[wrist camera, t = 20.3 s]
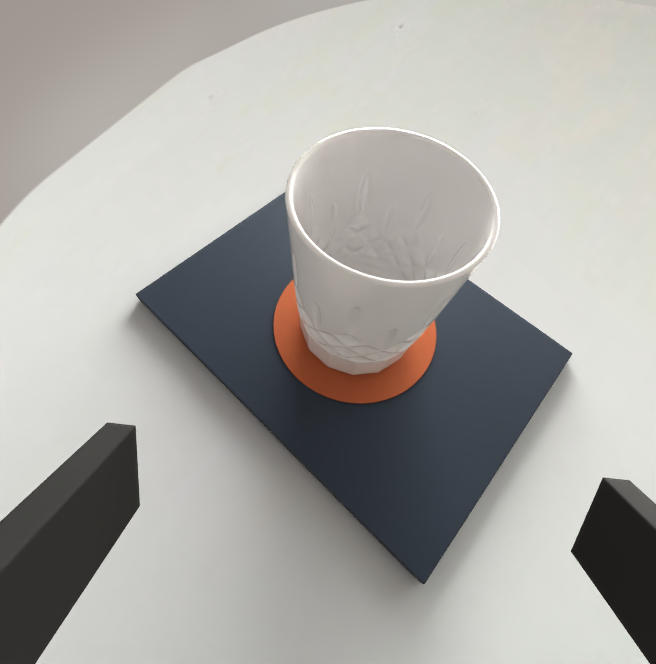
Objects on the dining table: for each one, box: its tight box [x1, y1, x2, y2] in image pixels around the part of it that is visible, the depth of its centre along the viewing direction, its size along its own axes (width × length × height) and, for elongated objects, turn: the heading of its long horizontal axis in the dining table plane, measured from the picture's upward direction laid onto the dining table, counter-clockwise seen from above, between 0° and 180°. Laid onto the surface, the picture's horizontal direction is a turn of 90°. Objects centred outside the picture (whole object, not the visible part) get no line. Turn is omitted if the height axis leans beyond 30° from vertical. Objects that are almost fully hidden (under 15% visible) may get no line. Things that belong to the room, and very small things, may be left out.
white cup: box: [285, 128, 500, 375], centre depth 18 cm, size 8×8×10 cm
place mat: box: [136, 193, 572, 584], centre depth 22 cm, size 22×16×1 cm
